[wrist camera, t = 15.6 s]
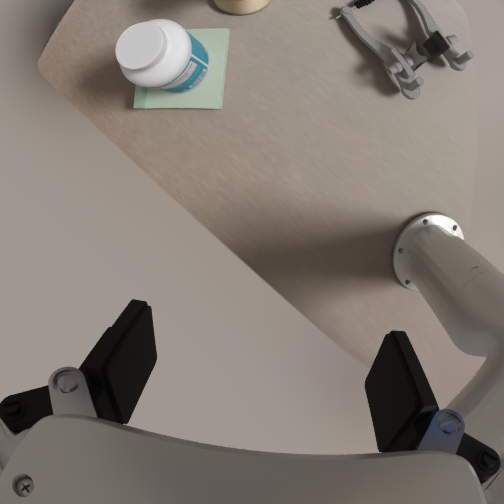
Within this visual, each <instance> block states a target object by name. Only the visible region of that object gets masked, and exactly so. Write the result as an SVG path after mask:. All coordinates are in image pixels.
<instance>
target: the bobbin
mask: <svg viewBox="0 0 504 504" xmlns="http://www.w3.org/2000/svg"><path fill="white" fill-rule="evenodd" d="M213 1H214V2H215V4H216V5H217V7H218V8H220V9H221V10H222V11H224V12H226V13H229V14H232V15H249V14H253V13H256V12H258V11H260V10H262V9H263V8H265V7H266V6H267V5H268V4H269V3H270V1H271V0H213Z"/></svg>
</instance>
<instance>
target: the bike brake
mask: <svg viewBox="0 0 504 504" xmlns="http://www.w3.org/2000/svg"><path fill="white" fill-rule="evenodd" d="M372 1H375V0H359V1H357V2H356V3H354V6H353V7H352V8H350V7H348V6H343V7H341V9H340V15H339V16H337V17H335V18H336V19H338V18H339V17H341V16H342V17H343V18H344V19H345V20H346V22H347V23H348V24H349V26H350V27H351V29H352V30H353V32H354V33H355V34H356V35H357V37H358V38H359V39H360V40H361V41H362V42H363V43H365V44H366V45H367V46H368V47H369V48H370V49H371V50H372V51H373V52H374V53H375V54H376V55H377V56H378V57H379V58H380V59H382V60H383V62H384V63H385V64H386V65H387V66H388V68H387V70H388V72H389V73H390V74H391V75H392V74H394V75H395V77H396V79H397V81H398V83H399V85H400V87H401V92H402V94H403V95H404V96H405V97H406V98H408V99H411V100H413V99H416V98H418V97H419V95H420V90H419V87H420V86H421V85H423V84H424V79H423V78H421V77H417V78H416V79H415V80H414V78H413V77H414V76H415V73H414V71H415V70H416V69H418V68H419V67H420V66H421V65H422V64H423V63H425V62H426V61H427V60H429V61H430V62H432V61H434V60H435V59H436V58H437V57H439V56H440V55H441V54H443V55H444V57H445V58H446V59H447V61H448V62H449V64H450V67H451V68H452V69H454V70H457V71H462V70H463V69H464V68H465V67H466V62H467V61H469V60H470V59H472V58H473V57H474V55H473V53H472V52H471V51H467V52H466V53H464V54H463V55H460V54H459V53H458V52H457V51H456V50H455V49H454V48H453V47H452V45H454V44H455V43H456V42H457V41H458V38H457V37H456V36H455V35H452V36H447V37H445V36H444V35H443V33H442V32H441V30H440V29H439V27H438V26H437V24H436V23H435V21H434V20H433V18H432V17H431V15H430V14H429V12H428V11H427V9H426V8H425V6H424V5H423V4H422V3H421V2H420V1H419V0H408V1H409V2H410V3H411V4H412V5H413V6H414V7H415V9H416V10H417V11H418V13H419V15H420V16H421V19H422V21H423V24H424V27H425V30H426V33H427V34H428V35H429V37H430V38H429V39H428V40H427V41H426V42H425V43H424V44H423V45H422V44H421V42H420V41H419V40H418V39H417V40H416V41H415V42H414V43H413V45H412V46H411V47H410V48H409V49H408V50H407V51H406V53H405V54H404V55H403V56H402V55H401V54H400V53H399V51H398V50H397V49H396V47H394V48H393V49H390V48H389V47H387V46H386V45H384V44H382V43H380V42H379V41H377V40H376V39H374V38H373V37H371V36H370V35H369V34H368V33H367V32H366V31H365V30H364V29H363V28H362V27H361V26H360V25H359V24H358V22H357V21H356V19H355V18H354V16H353V15H352V9H354V8H360V7H363V6H365V5H368V4H370V3H372Z"/></svg>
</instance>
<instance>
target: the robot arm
mask: <svg viewBox="0 0 504 504" xmlns="http://www.w3.org/2000/svg"><path fill="white" fill-rule="evenodd" d="M423 220H424V221H423ZM392 258H393V268H394V271H395V274H396V276H397V277H398V279H399V280H400V282H401V283H402V284H403V285H404V286H405V287H407V288H408V289H410V290H413V291H416V292H420V293H421V294H422V296H423V297H424V298H425V300H426V301H427V303H428V304H429V306H430V307H431V309H432V310H433V312H434V313H435V315H436V316H437V318H438V319H439V321H440V323H441V324H442V326H443V327H444V329H445V330H446V332H447V333H448V335H449V336H450V338H451V340H452V341H453V343H454V344H455V345H456V346H457V347H458V348H459V349H460V350H461V351H463V352H464V353H466V354H469V355H473V356H480V357H487V358H486V360H485V362H484V363H483V365H482V366H481V367H480V369H479V370H478V371H477V373H476V375H475V376H474V377H473V378H472V379H471V380H470V381H469V383H468V384H467V385H466V386H465V387H464V388H463V390H461V391H460V393H459V394H458V395H457V396H456V397H455V398H454V399H453V400H452V401H451V402H450V403H449V404H448V405H447V406H446V407H445V409H442V410H439V407H438V404H437V402H436V399H435V397H434V394H433V392H432V390H431V387H430V385H429V382H428V380H427V378H426V375H425V373H424V371H423V369H422V366H421V364H420V362H419V360H418V358H417V355H416V353H415V351H414V349H413V347H412V345H411V343H410V341H409V338H408V336H407V334H406V333H405V332H404V331H391V332H390V333H389V334H386V335H385V337H384V340H383V342H382V344H381V347H380V349H379V351H378V354H377V356H376V358H375V361H374V363H373V365H372V367H371V369H370V372H369V374H368V376H367V378H366V381H365V390H366V394H367V399H368V403H369V407H370V412H371V417H372V421H373V426H374V431H375V436H376V441H377V446H378V450H379V452H382V453H372V454H348V455H312V454H288V453H273V452H263V451H262V452H261V451H252V450H244V449H236V448H229V447H222V446H216V445H210V444H204V443H198V442H193V441H188V440H184V439H178V438H174V437H170V436H166V435H161V434H157V433H153V432H149V431H145V430H141V429H137V428H134V427H130V426H127V425H123V424H127V423H128V422H129V420H130V418H131V415H132V413H133V411H134V409H135V407H136V404H137V402H138V400H139V398H140V396H141V394H142V391H143V389H144V387H145V385H146V383H147V381H148V379H149V376H150V374H151V372H152V370H153V368H154V366H155V364H156V360H157V352H156V345H155V338H154V337H155V336H154V328H153V320H152V309H151V307H150V306H148V305H147V302H145V301H140V300H134V299H133V300H131V301H130V303H129V304H128V306H127V307H126V308H125V310H124V311H123V312H122V313H121V315H120V316H119V317H118V319H117V320H116V322H115V323H114V324H113V326H112V327H109V328H108V329H107V330H106V331H105V333H104V334H103V335H102V337H101V338H100V339H99V341H98V342H97V344H96V345H95V346H94V348H93V349H92V351H91V352H90V353H89V355H88V356H87V357H86V359H85V360H84V362H83V363H82V365H81V366H80V368H79V369H76V368H74V367H63V368H60V369H58V370H56V371H55V372H53V374H52V375H51V376H50V378H49V383H48V385H47V386H44V387H41V388H37V389H33V390H29V391H25V392H22V393H18V394H14V395H10V396H8V397H6V398H5V399H4V400H3V401H2V402H1V403H0V504H504V274H503V273H502V272H501V271H499V270H498V269H497V268H496V267H495V266H494V265H493V264H491V263H490V262H489V261H488V260H487V259H486V258H484V257H483V256H482V255H481V254H480V253H479V252H477V251H476V250H475V249H474V248H472V247H471V246H470V245H469V244H467V243H466V242H465V241H464V236H463V233H462V230H461V228H460V226H459V225H458V224H457V223H456V222H455V220H453V219H452V218H450V217H449V216H447V215H445V214H442V213H437V212H436V213H427V214H423V215H421V216H419V217H417V218H415V219H414V220H412V221H411V222H410V223H409V224H408V225H407V226H406V227H405V228H404V229H403V230H402V232H401V233H400V235H399V237H398V239H397V241H396V243H395V246H394V249H393V257H392Z"/></svg>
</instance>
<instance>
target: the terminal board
mask: <svg viewBox="0 0 504 504" xmlns="http://www.w3.org/2000/svg"><path fill="white" fill-rule="evenodd" d="M186 31H187V32H188V33H190V34H191V35H192V36H193V37H194V38H195V39H197V40H198V41H199V42H200V43H201V44H202V45H203V46H204V47H205V48H206V49H207V50H208V52H209V55H210V58H211V69H210V72H209V74H208V76H207V78H206V80H205V81H204V82H203V83H202V84H201V85H200V86H199V87H197V88H196V89H194V90H192V91H189V92H186V93H172V92H167V91H162V90H157V89H152V88H147V87H142V86H138V85H136V84H135V95H134V108H139V109H149V108H199V109H222V101H223V91H224V81H225V71H226V62H227V53H228V44H229V35H230V30H229V29H186Z"/></svg>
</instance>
